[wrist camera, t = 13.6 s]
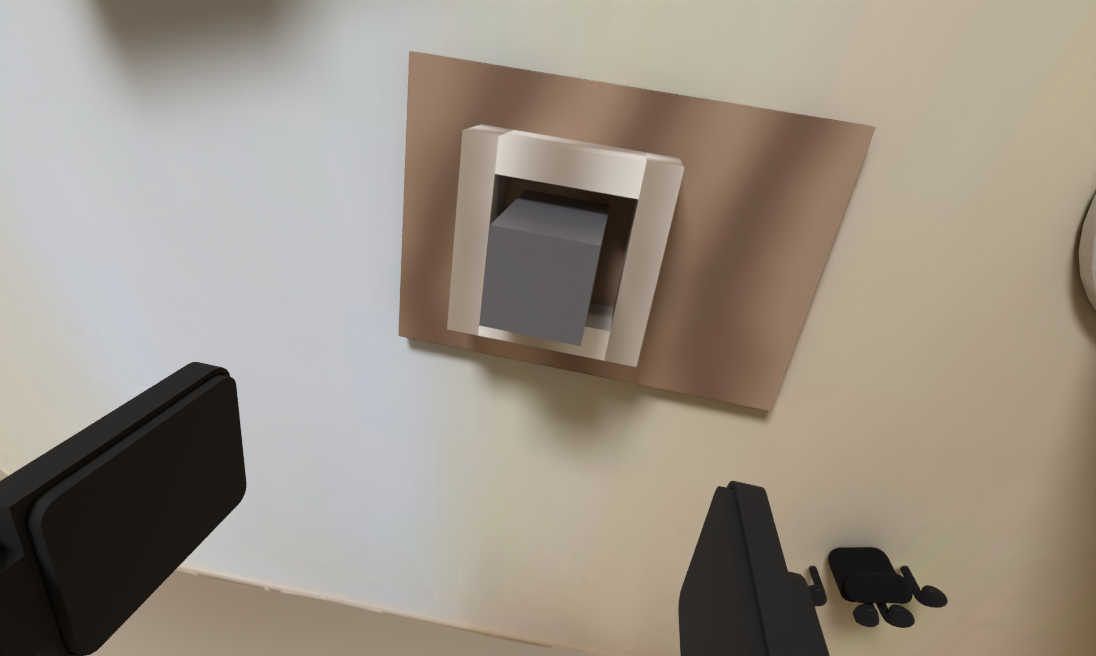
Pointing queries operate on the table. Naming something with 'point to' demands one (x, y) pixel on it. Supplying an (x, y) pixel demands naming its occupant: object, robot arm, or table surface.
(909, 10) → the table surface
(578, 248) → the charger brick
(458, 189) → the board
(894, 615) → the wireless earbuds
